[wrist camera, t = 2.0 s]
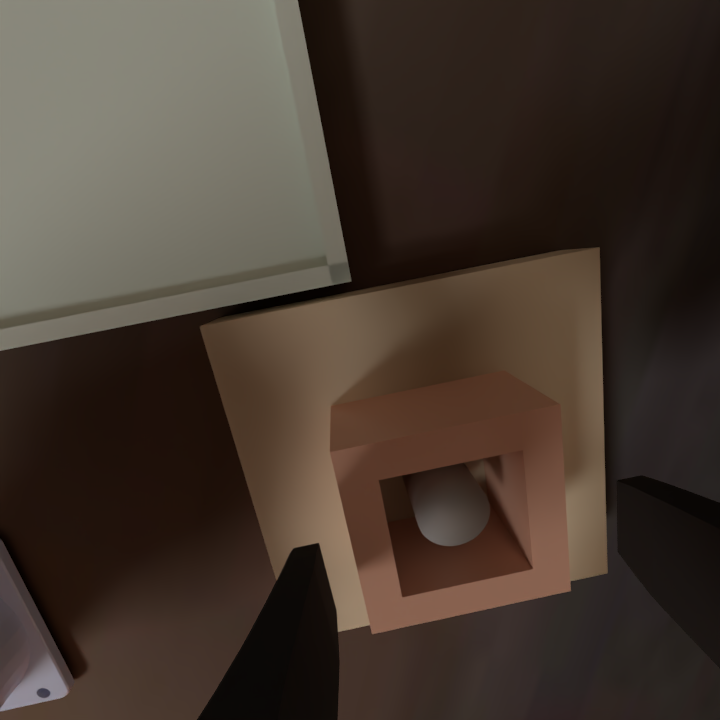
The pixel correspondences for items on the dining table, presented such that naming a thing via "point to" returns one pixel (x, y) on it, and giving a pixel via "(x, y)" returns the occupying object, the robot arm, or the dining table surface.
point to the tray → (157, 163)
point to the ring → (444, 448)
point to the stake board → (405, 372)
